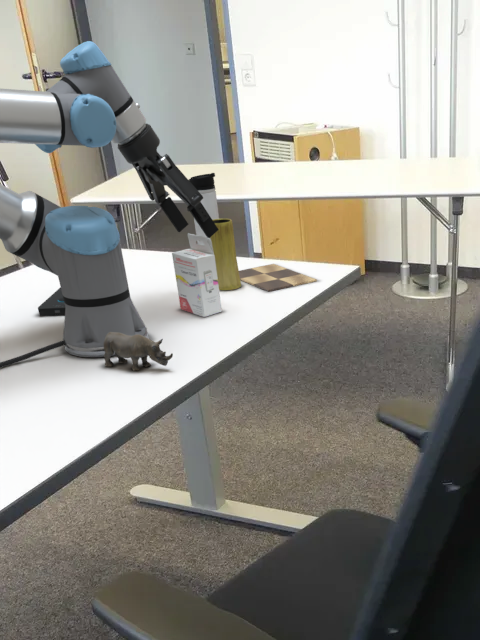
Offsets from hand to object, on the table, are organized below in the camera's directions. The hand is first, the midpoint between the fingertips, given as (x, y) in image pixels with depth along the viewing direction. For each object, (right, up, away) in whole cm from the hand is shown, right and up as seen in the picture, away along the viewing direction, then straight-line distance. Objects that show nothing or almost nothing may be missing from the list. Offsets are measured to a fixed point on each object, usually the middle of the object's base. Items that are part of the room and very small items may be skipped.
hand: (197, 231), depth 157 cm
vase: (+3, -6, +17) cm, 18 cm away
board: (+13, -2, +22) cm, 26 cm away
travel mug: (-5, +9, +40) cm, 42 cm away
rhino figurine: (-5, -34, -24) cm, 42 cm away
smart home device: (-30, -11, +11) cm, 34 cm away
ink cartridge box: (0, -16, +2) cm, 16 cm away
